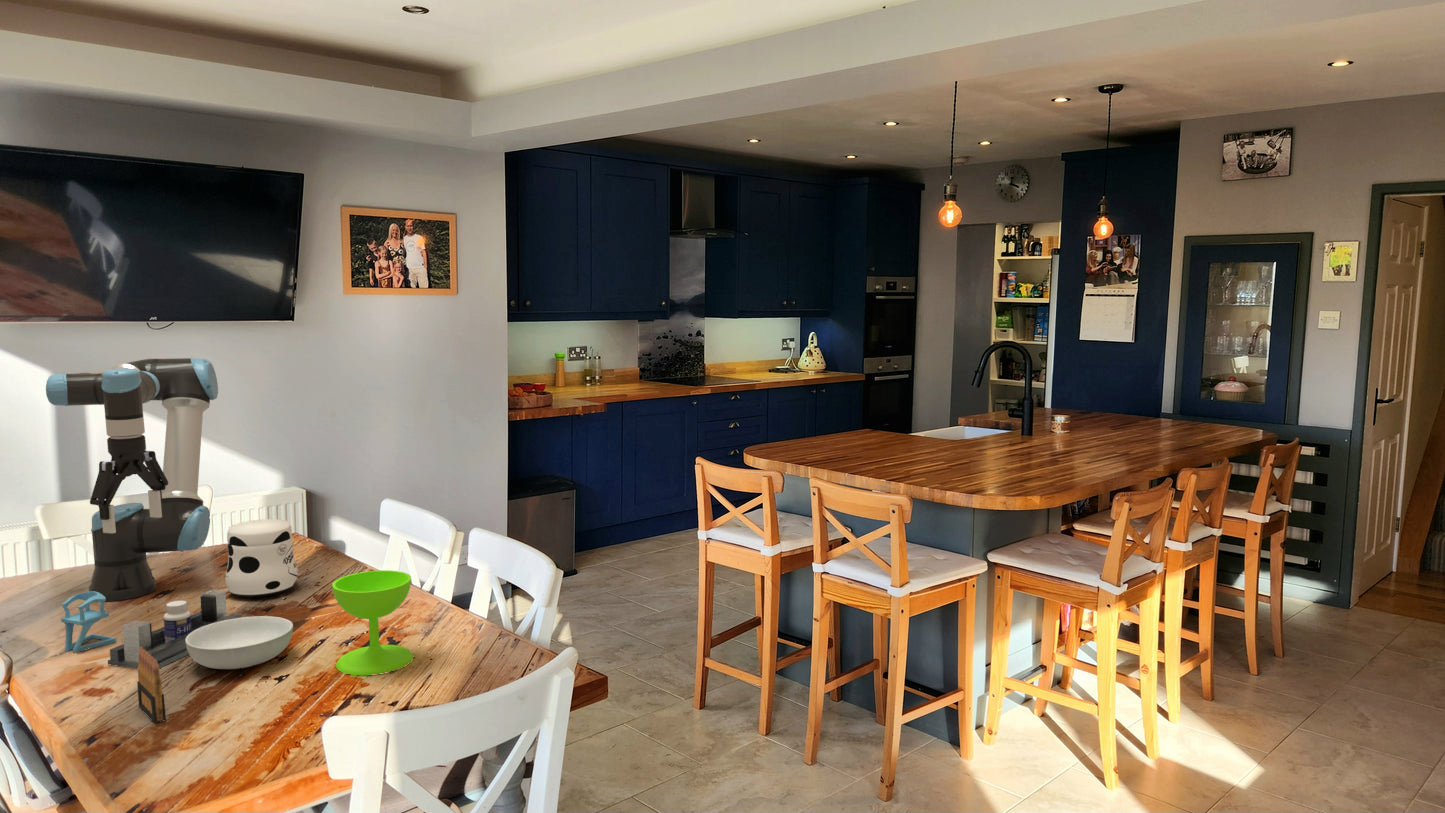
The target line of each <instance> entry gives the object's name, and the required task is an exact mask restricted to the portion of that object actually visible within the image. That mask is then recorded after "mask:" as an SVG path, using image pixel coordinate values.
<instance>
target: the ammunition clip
mask: <svg viewBox="0 0 1445 813" xmlns="http://www.w3.org/2000/svg"><path fill="white" fill-rule="evenodd" d="M138 660H139V661H138V669H137V678H138V681H136V682H137V694H138V695H137V697H138V698H137V699H138V707H139V708H140V710H142V711H144V712H145V713H146V714H147V715H148V716H149V717H148V716H147V715H146V714H145V713H144V714H145V715H146V716H147V717H148V718H149V719H150V718H151V719H152V720H151V719H150V720H151V721H152V723H153V724H155V723H156V724H158V723H157V722H159V723H161V722H160V721H163V720H166V721H167V717H166V706H165V694H164V693H163V685H162V678H161V674H160V668H159V666H158V663H157V661H156V659H154V658H153V657H151V655H150V654H149V653H148V652H147V651H146V650H145V649H143V647H142V646H141V647H140V649H139V656H138ZM163 722H164V721H163Z"/></svg>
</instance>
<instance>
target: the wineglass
mask: <svg viewBox="0 0 1445 813" xmlns="http://www.w3.org/2000/svg"><path fill="white" fill-rule="evenodd" d="M411 582H412V576H411V575H410V574H409V573H406V572H404V571H398V570H389V569H388V570H387V569H386V570H383V569H380V570H367V571H362V572H361V571H360V572H356V573H355V572H354V573H352V574H347V575H344V576H342V577H340V578H337V579H336V580H334V582H332V584H331V585H332V586H331V588H332V593H333V597H334V599H335V600H336V602H337V605H339V607H341V608H342V610H343V611H345V612H346V613H347V614H349V615H351V616H353V617H356V618H358V619H365V620H368V628H369V629H368V630H369V631H368V632H369V645H368V646H364V647H363V646H362V647H359V648H356V649H353V650H351V651H348V652H346V653H345V654H343V655H342V656H341V657H340V658H339V659H338V660H337V662H336V664H335V669H336V668H337V669H338V670H339V671H341V672H343V673H346V674H351V675H372V674H380V673H385V672H389V671H394V670H396V669H399V668H401V667H404V666H405V665H407V664H408V663H410V662H411V661H412V659H413V655H414V653H413V652H412V651H411V650H410V649H409V648H406V647H404V646H402V645H398V644H380V632H379V631H380V627H379V626H380V625H379V618H383V617H386V616H388V615H390V614H392V613H393V612H395V611H396V610H397V609H398V608H400V606H402V604H403V603H404V601H405V600H406V598H407V597H408V594H409V592H410V589H411ZM413 660H414V659H413ZM412 662H413V661H412ZM412 662H411V663H412ZM411 663H410V664H411ZM404 668H405V667H404ZM337 669H336V670H337ZM338 670H337V671H338ZM339 671H338V672H339ZM341 672H340V673H341ZM394 672H395V671H394ZM346 674H345V675H346Z"/></svg>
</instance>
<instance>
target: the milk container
mask: <svg viewBox="0 0 1445 813" xmlns="http://www.w3.org/2000/svg"><path fill="white" fill-rule="evenodd" d="M292 532H293V528H292V524H291V521H288V520H287V519H286V520H285V519H281V518H280V519H279V518H277V519H275V518H267V519H255V520H247V521H243V522H239V523H235V524H232V525H230V526H229V527H228V528H227V532H226V533H227V534H226V541H227V545H226V546H227V556H228V557H227V560H228V561H227V566H226V571H225V575H224V576H225V577H224V578H225V584H226V588H227V591H228V592H229V593H230V594H232V595H234V596H237V597H242V598H262V597H267V596H269V597H271V596H274V595H277V594H281V593H284V592H287V591H289V590H290V589H292V587H294V586H295V585H296V583H297V581H298V576H299V575H298V574H299V573H298V572H299V571H298V565H297V562H296V559H295V556H294V548H293V546H294V545H293V543H294V542H293V539H294V538H293V536H292V535H293V533H292Z"/></svg>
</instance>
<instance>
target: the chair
mask: <svg viewBox="0 0 1445 813" xmlns="http://www.w3.org/2000/svg"><path fill="white" fill-rule="evenodd" d="M76 600H81V601H84V602H83V603H82V604H80V605H79V606H77V608H78V611H79V612H78V613H74V614H70V612H71V611H70V609H69V608H68V606H70V604H71V603H73V602H74V601H76ZM105 600H106V598H105V597H104V596H103V595H102V594H100V593H98V592H94V591H90V592H89V591H86V592H80V593H78V594H74V595H73V596H70V597H69V598H67V600H66V601H64V602H62V603H61V604H60V605H61V607H62V608H63V610H64V613H65V615H64V617H62V618H60V622H61V623H64V626H65V627H64V628H65V642H64V644H65V645H64V646H65V647H64V652H69V650H70V651H72V653H73V652H76V653H78V652H77V651H80V652H83V651H86V650H85V649H87V650H89V649H88V648H91V649H93V648H92V647H95V648H97V646H99V647H101V645H103V646H106V645H105V644H107V645H110V644H113V642H114V643H116V642H117V638H116V637H113V636H107V635H100V634H95V633H91V634H88V632H89V630H90V629H91V627H92V626H93V625H94V624H95V623H97V622H99V621H101V620H102V619H105V618H107V617H110V612H108V611H105V608H104V607H105V604H106V601H105ZM95 603H100V605H99V610H94V609H91V607H90V605H92V604H95ZM75 625H76V626H81V627H82V628H81V631H80V634H79V636H78V638H77V640H76V641H75V642H73V635H74V634H73V633H74V626H75ZM91 638H92V639H94V638H97V639H96V640H99V639H101V640H100V641H96V642H92V643H86V642H88V641H90V640H92V639H91ZM89 639H90V640H89ZM87 640H88V641H87ZM84 642H85V643H86V644H85V643H84ZM82 643H83V644H82ZM71 649H72V650H71ZM82 650H83V651H82Z"/></svg>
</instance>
